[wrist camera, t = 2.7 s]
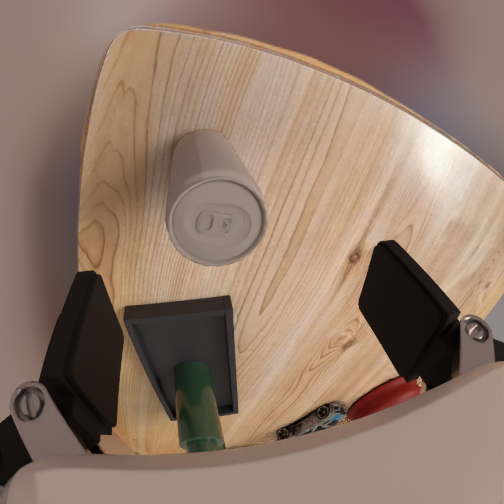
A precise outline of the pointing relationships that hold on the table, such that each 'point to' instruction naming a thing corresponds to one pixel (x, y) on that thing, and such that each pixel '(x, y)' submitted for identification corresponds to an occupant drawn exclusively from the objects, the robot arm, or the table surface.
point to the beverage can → (213, 201)
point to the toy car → (315, 422)
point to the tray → (186, 345)
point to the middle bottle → (196, 408)
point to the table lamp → (384, 397)
